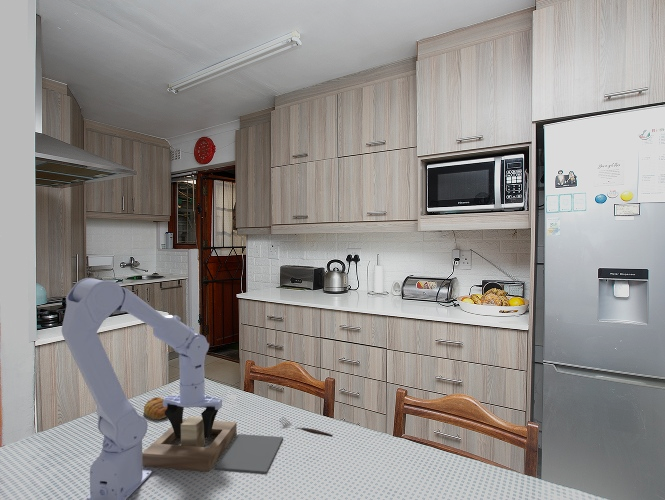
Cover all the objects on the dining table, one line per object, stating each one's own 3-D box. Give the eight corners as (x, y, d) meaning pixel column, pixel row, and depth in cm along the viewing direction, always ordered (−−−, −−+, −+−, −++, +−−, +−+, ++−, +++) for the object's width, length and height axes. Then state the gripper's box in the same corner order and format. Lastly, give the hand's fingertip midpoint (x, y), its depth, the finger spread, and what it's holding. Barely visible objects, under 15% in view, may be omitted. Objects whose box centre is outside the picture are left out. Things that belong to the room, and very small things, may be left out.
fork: (330, 440, 93) (330, 432, 93) (278, 427, 99) (278, 420, 99) (334, 434, 95) (334, 427, 95) (283, 422, 101) (283, 416, 101)
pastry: (176, 415, 106) (176, 402, 105) (152, 424, 101) (152, 410, 101) (164, 405, 112) (164, 393, 112) (141, 413, 107) (141, 400, 107)
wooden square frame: (208, 471, 79) (208, 458, 79) (142, 466, 81) (141, 453, 81) (236, 433, 95) (236, 422, 95) (180, 429, 97) (180, 418, 97)
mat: (266, 473, 79) (266, 471, 79) (214, 469, 80) (214, 467, 80) (282, 438, 93) (282, 437, 93) (238, 435, 94) (238, 434, 94)
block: (196, 454, 86) (196, 425, 86) (181, 452, 87) (180, 424, 86) (204, 444, 90) (204, 417, 90) (189, 443, 91) (189, 416, 90)
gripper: (227, 376, 91) (227, 428, 91) (173, 374, 93) (174, 425, 93) (214, 387, 84) (215, 444, 84) (157, 384, 86) (158, 440, 86)
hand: (193, 435), depth 88 cm, fingers open, 7 cm apart
